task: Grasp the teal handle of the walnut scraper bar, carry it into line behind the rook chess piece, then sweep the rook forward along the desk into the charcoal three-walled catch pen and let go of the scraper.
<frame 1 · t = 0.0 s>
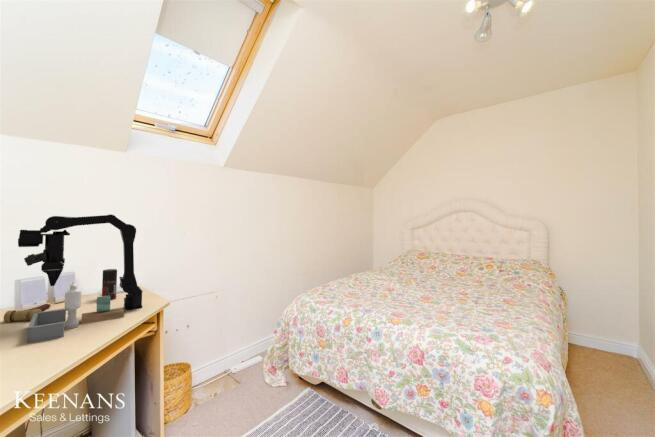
hand: (53, 283, 120), 15 cm above the table, fingers open, 9 cm apart
deodorant: (108, 299, 150), on the table
catch pen: (50, 330, 109), on the table
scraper: (103, 318, 124), on the table
rook chess piece: (71, 327, 113), on the table
gavel: (35, 315, 125), on the table
eye dropper bottle: (72, 308, 135), on the table
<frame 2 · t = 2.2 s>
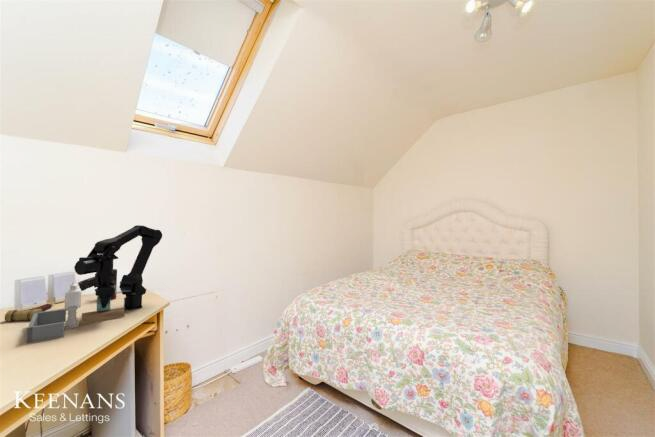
hand: (103, 307, 124), 5 cm above the table, fingers closed on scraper, 3 cm apart
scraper: (103, 317, 124), on the table, touching gripper
everything else where it was.
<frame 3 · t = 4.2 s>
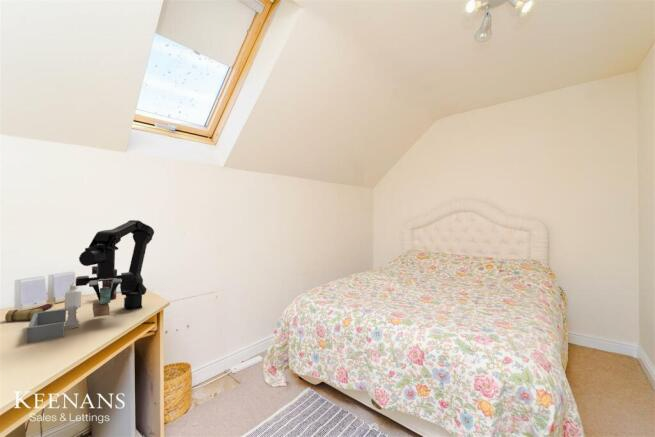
hand: (105, 299, 119), 9 cm above the table, fingers closed on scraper, 3 cm apart
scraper: (105, 310, 119), point 5 cm above the table, touching gripper
everything else where it was.
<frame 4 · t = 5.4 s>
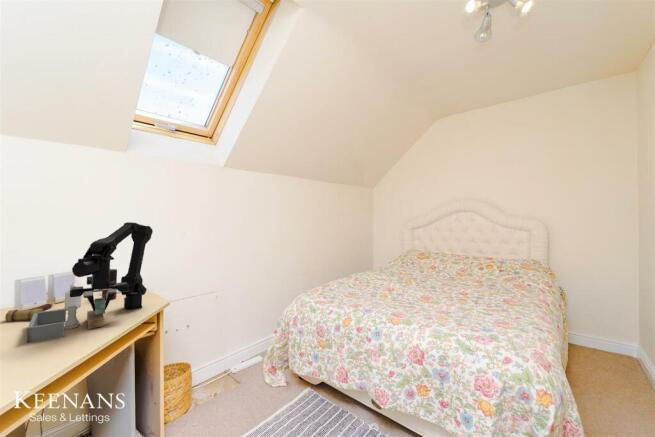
hand: (99, 310, 118), 5 cm above the table, fingers closed on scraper, 3 cm apart
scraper: (99, 321, 118), on the table, touching gripper
everything else where it was.
when the fingers open (5 cm above the table, at t = 6.0 s): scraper moves 4 cm, resting on rook chess piece.
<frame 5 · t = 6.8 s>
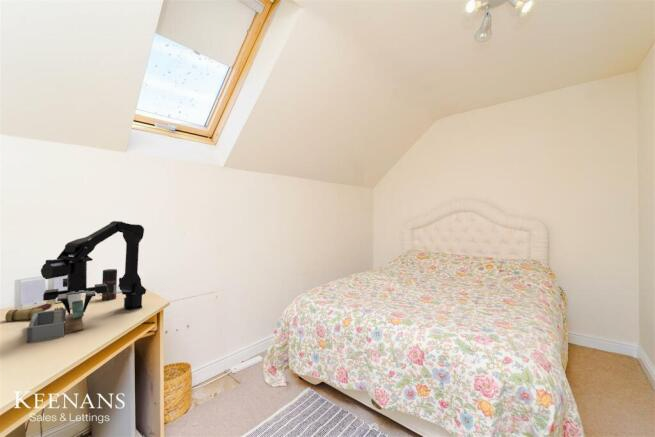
hand: (76, 313, 114), 5 cm above the table, fingers open, 4 cm apart
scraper: (79, 324, 114), resting on rook chess piece, touching gripper
rook chess piece: (58, 329, 110), on the table, touching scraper
everything else where it was.
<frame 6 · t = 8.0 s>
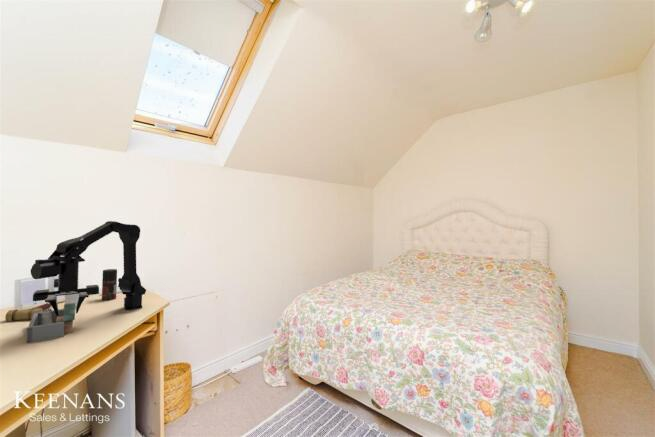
hand: (67, 314, 112), 5 cm above the table, fingers open, 5 cm apart
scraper: (68, 327, 112), on the table
rook chess piece: (47, 331, 108), on the table, touching gripper
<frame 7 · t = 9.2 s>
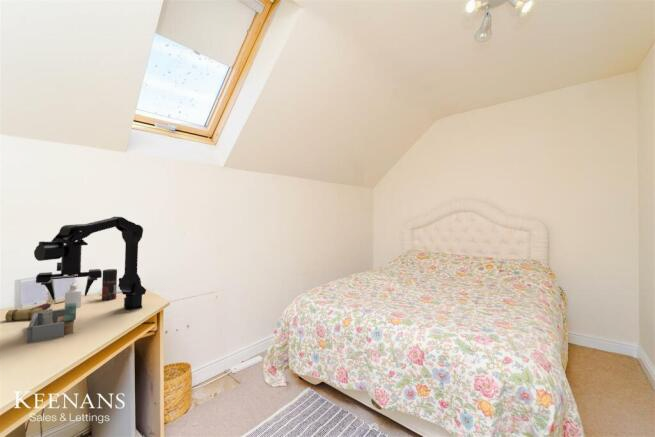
hand: (69, 297, 112), 12 cm above the table, fingers open, 9 cm apart
rook chess piece: (47, 331, 108), on the table
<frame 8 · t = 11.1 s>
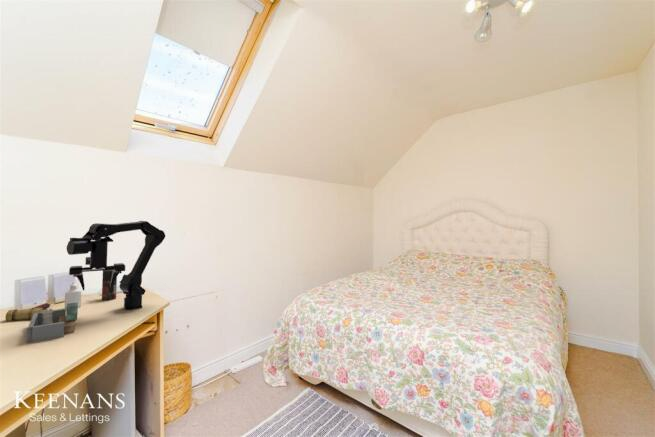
hand: (97, 288, 125), 12 cm above the table, fingers open, 9 cm apart
at the end: rook chess piece inside the target area on the catch pen (0.7 cm from its centre), point 0.0 cm above the catch pen's base; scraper moved 11.6 cm from its start; the gripper is holding nothing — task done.
